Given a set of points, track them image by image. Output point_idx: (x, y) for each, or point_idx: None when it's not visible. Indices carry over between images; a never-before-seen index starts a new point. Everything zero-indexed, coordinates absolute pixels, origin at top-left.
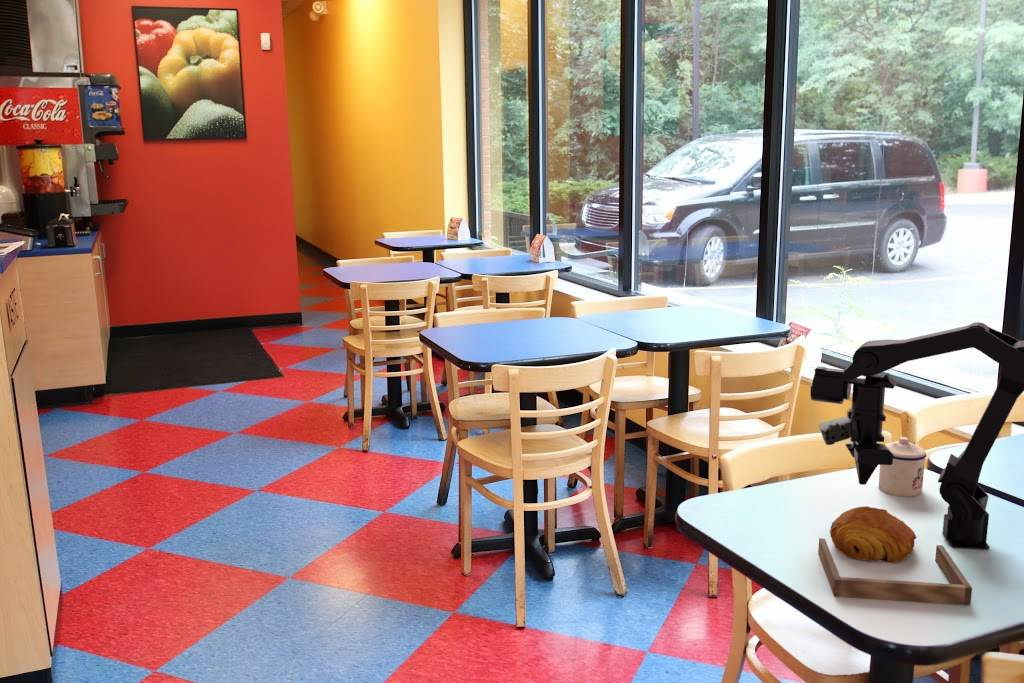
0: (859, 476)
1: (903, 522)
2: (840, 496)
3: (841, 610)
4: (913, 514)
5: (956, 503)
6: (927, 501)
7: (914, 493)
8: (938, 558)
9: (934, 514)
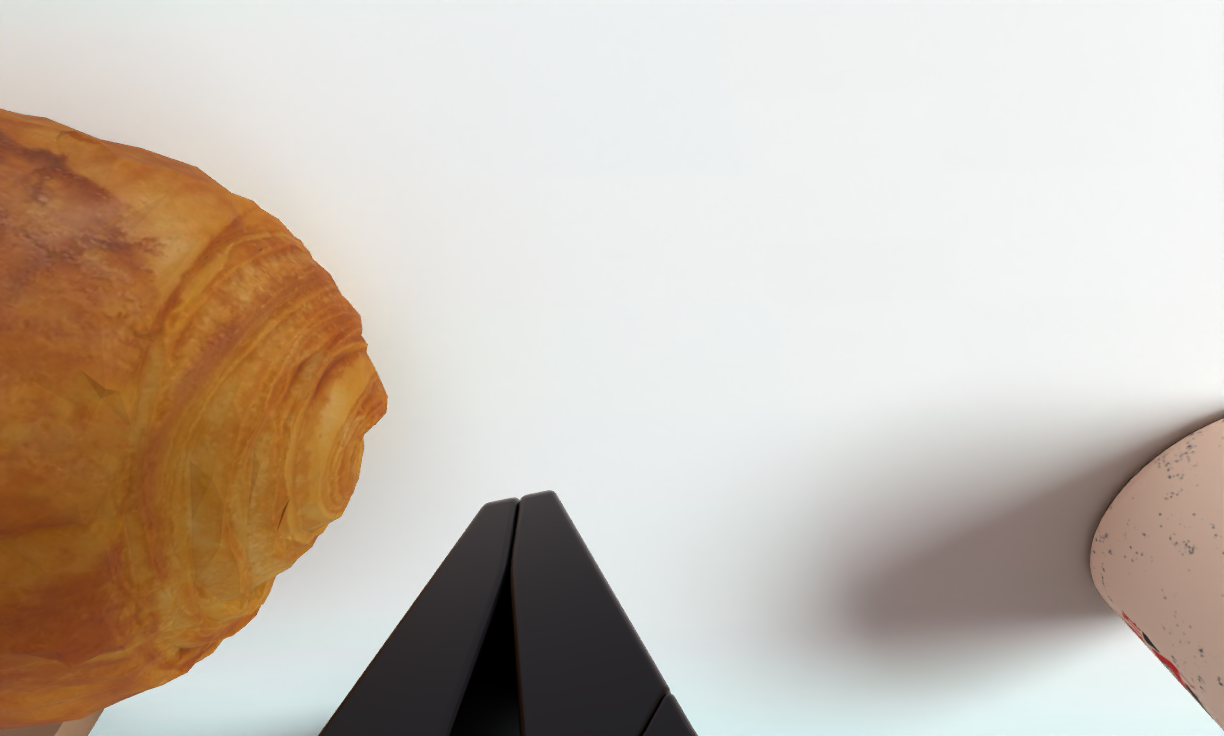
0: (405, 617)
1: (51, 717)
2: (1131, 97)
3: None
4: (789, 582)
5: None
6: (1013, 633)
7: (1105, 598)
8: (5, 732)
9: (811, 663)
